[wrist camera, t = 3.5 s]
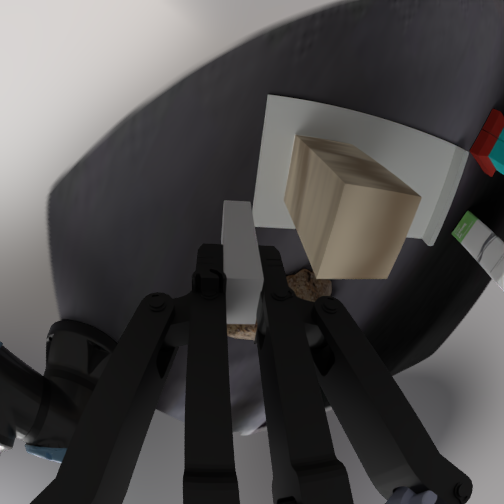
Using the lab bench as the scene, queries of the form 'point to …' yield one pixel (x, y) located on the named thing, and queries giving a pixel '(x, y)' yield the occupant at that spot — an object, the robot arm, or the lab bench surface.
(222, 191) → the lab bench surface
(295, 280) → the rock
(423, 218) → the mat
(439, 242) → the lab bench surface
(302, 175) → the block
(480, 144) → the toy robot
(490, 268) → the ink box
